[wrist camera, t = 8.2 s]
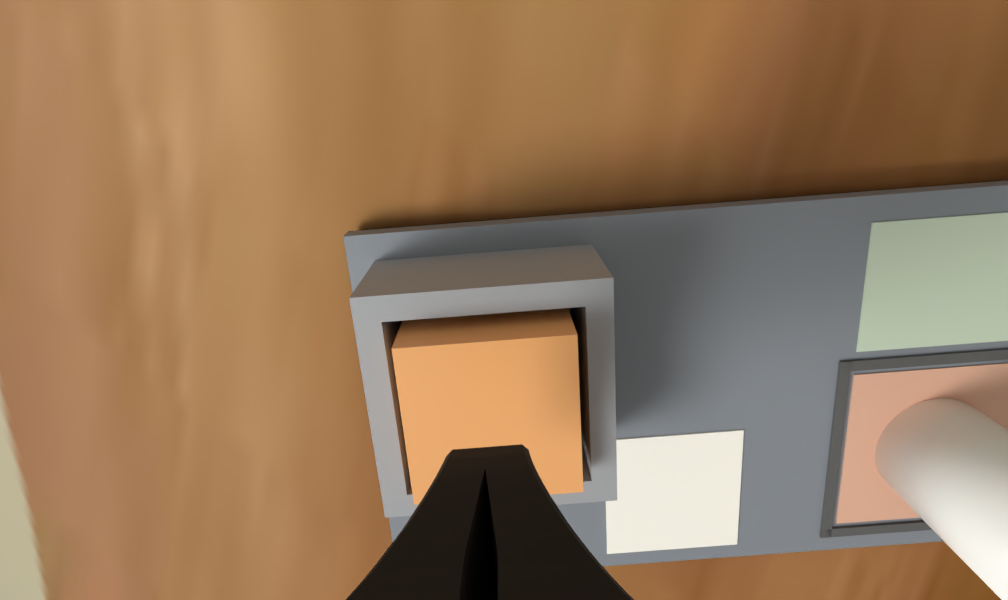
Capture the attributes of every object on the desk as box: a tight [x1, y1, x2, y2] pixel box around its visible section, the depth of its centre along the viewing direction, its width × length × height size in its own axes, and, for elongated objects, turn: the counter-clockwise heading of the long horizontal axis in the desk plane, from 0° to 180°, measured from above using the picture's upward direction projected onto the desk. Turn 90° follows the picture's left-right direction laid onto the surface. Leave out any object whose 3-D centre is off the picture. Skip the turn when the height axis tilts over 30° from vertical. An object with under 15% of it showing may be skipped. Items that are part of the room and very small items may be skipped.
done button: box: [392, 308, 583, 505], centre depth 14 cm, size 4×4×2 cm
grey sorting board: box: [343, 180, 1008, 566], centre depth 16 cm, size 11×21×4 cm, turn 94°
